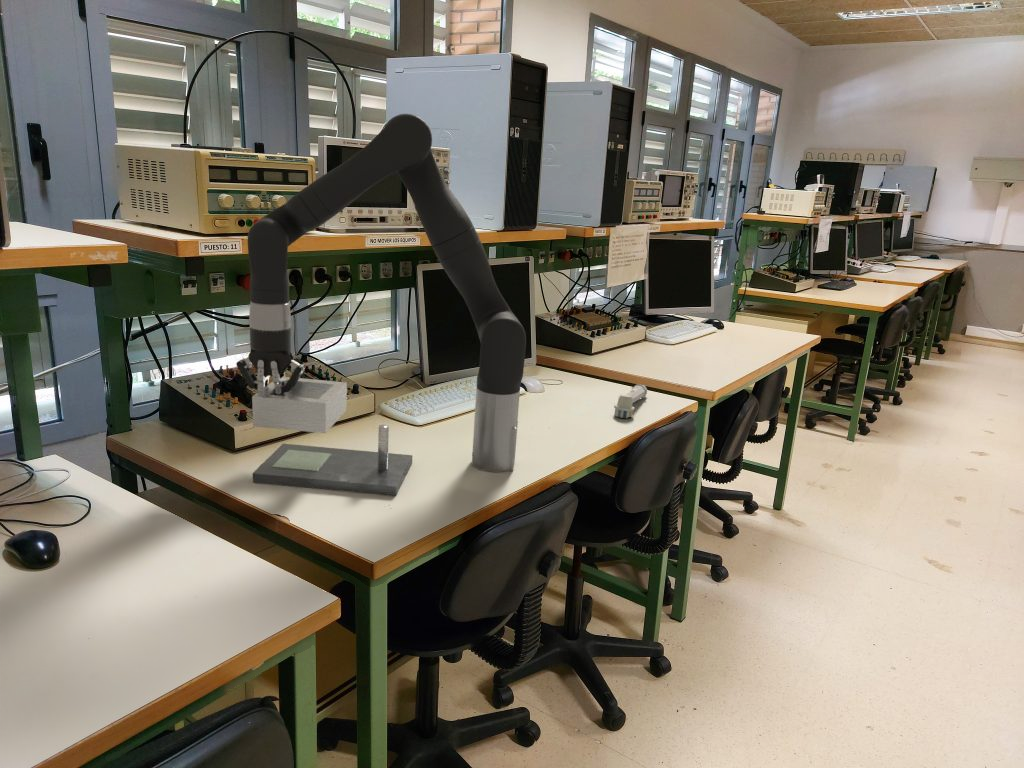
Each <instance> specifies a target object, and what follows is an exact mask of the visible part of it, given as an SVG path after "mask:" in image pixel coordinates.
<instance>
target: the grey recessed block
mask: <svg viewBox="0 0 1024 768" xmlns="http://www.w3.org/2000/svg"><path fill="white" fill-rule="evenodd" d="M290 377H291V376H285V385H286V384H287V382H288V380H289V379H290ZM347 384H348V382H344V381H336V380H322V379H310V378H303V377H302V378H301V377H300V378H299V380H298V381H297V383H296V385H295V386H294V388H293V389H291V390H290V391H289V392H285V396H280V395H275V394H276V393H275V386H274V383H273V381H271V382H270V383H269V384H268V385H267V386H266V387H265V388H263V389H262V390H260V391H259V392H258V391H257V392H256V393H255V394H254V395H252V396H251V400H252V404H251V405H252V407H251V408H252V427H256V428H264V429H265V428H267V429H277V430H285V431H286V430H289V431H295V432H296V431H298V432H300V431H301V432H309V433H320V434H326V433H327V432H328V431H329V430H330V429H331V428H332V427H333V426H334V425H335V424H336V422H337V421H338V420H339V419H340V417H342V416H343V414H344V413H346V411H347V401H348V400H347V396H348V394H347V393H348V392H347V388H348V385H347Z"/></svg>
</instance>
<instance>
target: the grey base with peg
mask: <svg viewBox="0 0 1024 768" xmlns="http://www.w3.org/2000/svg"><path fill="white" fill-rule="evenodd" d="M389 431H390V426H389V425H388V424H379V425H378V436H377V437H378V440H377V441H378V442H377V443H378V445H377V448H378V449H377V451H368V450H357V449H349V448H347V449H346V448H336V447H328V446H327V447H325V446H315V445H314V446H313V445H304V444H292V443H282V444H281V445H280V446H279V447H278V448H277V449H276V450H275V451H274V452H273V453H272V454H271V455H270V456H268V458H266V459H265V461H263V462H262V463H261V464H260V465H259V466H258V467H257V468H256V469H255V470H254V471H253V472H252V483H253V484H261V485H270V486H271V485H272V486H283V487H294V488H304V489H305V488H307V489H313V490H314V489H315V490H326V491H337V492H348V493H357V494H370V495H378V496H379V495H381V496H389V497H397V495H398V493H399V491H400V490H401V487H402V485H403V483H404V482H405V479H406V477H407V475H408V473H409V471H410V470H411V467H412V465H413V454H401V453H389V436H390V435H389V433H390V432H389Z"/></svg>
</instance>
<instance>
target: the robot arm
mask: <svg viewBox="0 0 1024 768" xmlns="http://www.w3.org/2000/svg"><path fill="white" fill-rule="evenodd" d="M432 145H433V135H432V132H431V128H430V127H429V125H428V123H427V122H426V121H425V120H424V119H423V118H422V117H420V116H418V115H416V114H413V113H401V114H397V115H395V116H393V117H392V118H390V119H389V120H388V121H387V122H386V124H385V125H384V126H383V129H382V130H381V131H380V132H378V133H377V135H375V137H374V138H373V139H372V140H371V141H370V142H369V143H368V144H366V145H365V146H363V148H362V149H360V150H359V151H358V152H356V153H355V154H354V155H352V156H351V157H350V158H348V159H347V160H345V161H344V162H343V163H341V164H339V165H337V166H336V167H334V168H333V169H331V170H330V171H328V172H327V173H325V174H324V175H322V176H320V177H319V178H317V179H316V180H314V181H313V182H311V183H310V184H309V185H306V186H305V187H304V188H302V189H301V190H300V191H298V192H297V193H296V194H294V195H293V196H292V197H291V198H290V199H289V200H288V201H287V202H286V203H283V204H282V205H281V206H278V207H277V208H275V209H274V210H272V211H271V212H269V213H267V214H265V215H264V216H262V217H261V218H260V219H258V220H256V221H255V222H254V223H253V224H252V226H251V227H250V228H249V230H248V232H247V252H248V263H249V270H250V279H249V280H250V281H249V288H250V289H249V291H250V293H249V296H250V298H249V300H250V302H249V303H250V305H249V313H248V314H249V318H248V323H249V348H250V351H249V354H248V357H246V358H242V359H240V360H238V361H237V362H236V367H237V369H238V370H239V373H240V374H241V376H242V378H243V379H244V380H245V382H246V385H247V386H248V388H249V389H251V390H252V389H253V390H256V391H257V393H258V392H259V391H260V390H262V389H263V388H265V387H266V386H267V385H269V384H270V383H269V382H270V381H269V380H270V377H272V382H273V383H274V386H275V393H276V394H275V395H280V396H285V392H289V391H290V390H291V389H293V388H294V386H295V385H296V383H297V381H298V380H299V378H301V376H302V375H303V373H304V371H305V369H306V368H307V367H306V364H305V363H299V362H298V361H296V360H294V356H293V354H292V324H291V323H292V320H291V319H292V317H291V307H290V282H289V276H288V252H289V251H288V250H289V249H288V248H289V247H290V246H291V245H292V244H294V243H295V242H296V241H297V240H299V239H301V238H302V237H303V236H304V235H305V234H307V233H309V232H312V231H314V230H316V229H317V228H319V227H321V226H323V225H324V224H325V223H327V222H328V221H330V220H331V219H332V218H333V217H335V216H336V215H337V214H339V213H340V212H342V211H343V210H344V209H345V208H347V207H348V206H349V205H351V204H352V203H353V202H354V201H355V200H357V199H358V198H359V197H360V196H362V195H363V194H364V193H365V192H366V191H368V190H369V189H370V188H372V187H374V186H375V185H376V184H378V183H379V182H381V181H382V180H384V179H385V178H388V177H389V176H391V175H393V174H395V173H396V174H397V175H398V176H399V178H400V180H401V182H402V183H403V185H404V187H405V188H406V190H407V192H408V193H409V196H410V198H411V200H412V202H413V205H414V208H415V210H416V213H417V215H418V218H419V220H420V223H421V225H422V226H421V227H422V228H423V230H424V231H425V235H426V237H427V239H428V242H429V244H430V246H431V248H432V249H433V252H434V254H435V256H436V257H437V259H438V262H439V263H440V265H441V267H442V268H443V270H444V272H445V273H446V275H447V276H448V278H449V279H450V281H451V282H452V283H453V285H454V286H455V288H456V289H457V291H458V292H459V294H460V295H461V297H462V298H463V300H464V302H465V303H466V306H467V308H468V310H469V312H470V315H471V318H472V320H473V322H474V325H475V329H476V330H477V331H476V332H477V335H478V338H479V341H480V350H479V351H480V352H479V366H478V372H477V373H478V374H477V376H476V387H475V388H476V390H475V391H476V392H475V403H474V422H473V423H474V425H473V438H472V452H471V457H472V458H471V464H472V466H474V468H476V469H479V470H481V471H486V472H492V473H493V472H495V473H499V472H506V471H514V469H515V468H514V467H515V460H516V450H517V449H516V446H517V437H518V436H517V435H518V434H517V433H518V423H519V421H518V420H519V408H520V395H521V394H520V393H521V385H522V380H523V377H524V370H525V369H524V368H525V360H526V351H527V336H526V335H527V333H526V330H525V328H524V326H523V325H522V323H521V322H520V320H519V319H518V317H516V315H515V314H514V313H513V311H512V309H511V308H510V306H509V304H508V303H507V302H506V300H505V298H504V297H503V295H502V293H501V292H500V290H499V287H498V286H497V283H496V281H495V278H494V275H493V271H492V268H491V265H490V261H489V259H488V256H487V253H486V251H485V248H484V245H483V242H482V240H481V239H480V236H479V234H478V232H477V230H476V228H475V227H474V224H473V222H472V221H471V219H470V217H469V215H468V214H467V212H466V211H465V208H464V207H463V206H462V204H461V203H460V202H459V200H458V198H457V197H456V196H455V194H454V193H453V191H452V190H451V189H450V187H449V186H448V184H447V183H446V182H445V179H444V177H443V176H442V174H441V171H440V170H439V167H438V164H437V162H436V160H435V157H434V154H433V151H432V149H431V148H432ZM252 367H254V368H255V370H256V372H257V373H255V372H254V370H253V368H252ZM289 367H290V372H291V375H290V376H289V377H290V379H289V380H288V382H287V384H286V385H285V377H286V371H287V370H288V369H289ZM256 374H257V376H256Z"/></svg>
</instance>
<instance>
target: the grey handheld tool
mask: <svg viewBox="0 0 1024 768" xmlns="http://www.w3.org/2000/svg"><path fill="white" fill-rule="evenodd" d="M647 394H648V388H647V386H646V385H644V384H635V385H634V386H632V387H631V390H629V391H628V392H627V393H626V394H625V393H624V394H623V393H622V394H621V393H620V395H619V396H618V400H617V403H615V404H614V406H613V408H614V416H616V417H617V418H622V419H628V418H629V417H631V418H632V417H633V412H634V411H635V410H636V409H635V407H634V406H633V404H634V403H635V402H637V401H639V400H640V398H642V399H644V398H645V397H646V396H647Z"/></svg>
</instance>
